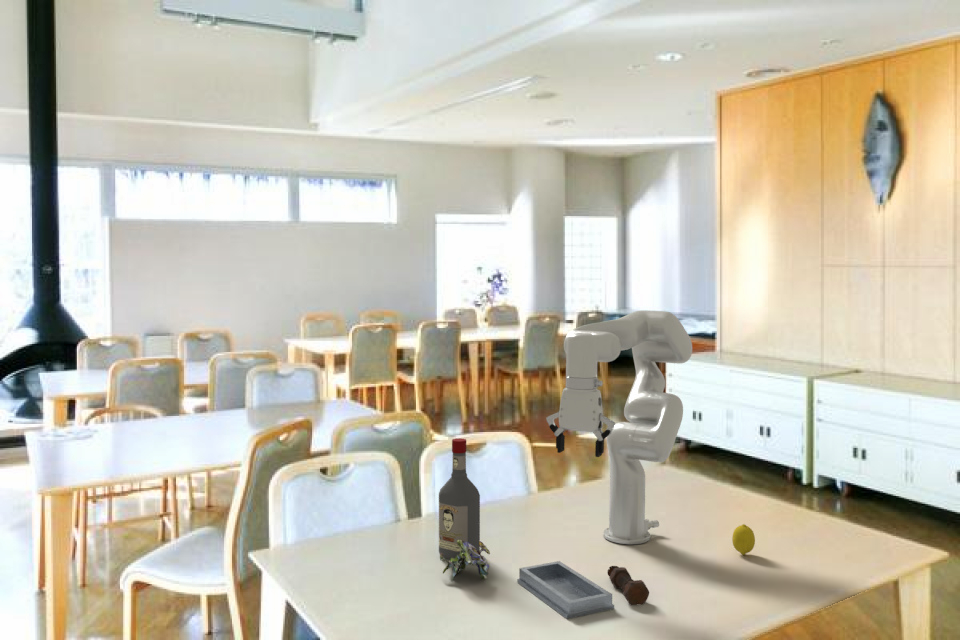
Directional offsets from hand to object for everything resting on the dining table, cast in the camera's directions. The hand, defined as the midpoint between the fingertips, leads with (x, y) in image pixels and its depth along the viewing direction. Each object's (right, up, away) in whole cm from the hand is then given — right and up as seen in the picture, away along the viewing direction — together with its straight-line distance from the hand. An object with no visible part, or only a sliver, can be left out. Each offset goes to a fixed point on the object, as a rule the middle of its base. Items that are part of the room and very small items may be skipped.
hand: (579, 453), depth 201 cm
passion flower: (-28, -29, -6) cm, 40 cm away
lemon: (+43, -28, +11) cm, 53 cm away
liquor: (-30, -28, +10) cm, 42 cm away
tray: (-5, -29, -15) cm, 33 cm away
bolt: (+9, -30, -13) cm, 34 cm away
